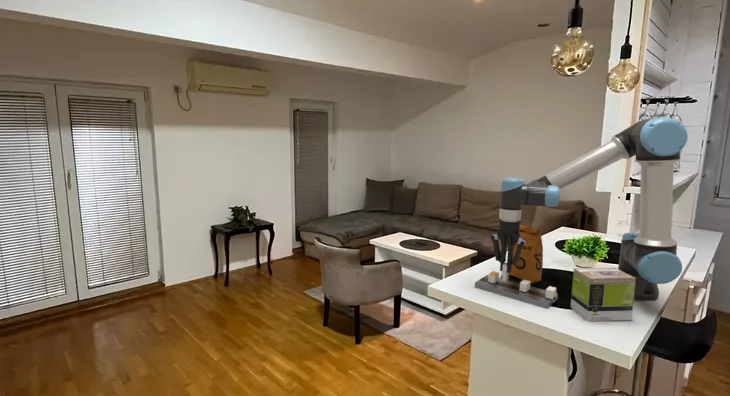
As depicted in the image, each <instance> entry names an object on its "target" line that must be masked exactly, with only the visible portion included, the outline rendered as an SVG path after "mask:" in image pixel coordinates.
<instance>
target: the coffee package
mask: <svg viewBox="0 0 730 396" xmlns="http://www.w3.org/2000/svg"><path fill="white" fill-rule="evenodd" d="M519 233H520V236H521V238H522V239H523V240H526V244H525V245H524V246H523V248H522V251H521V254H520V256H519V259H518V262H517V263H516V264H514V265H512V269H511V272H510V273H509V275H508V276H513V277H515V278H518V279H520V280H521V281H523V280H527V281H531V282H530V284H534V283H537V282H540V281H542V274H543V263H544V259H543V258H544V257H543V256H544V247H543V240H542V234H541V229H540V228H537V227H531V226H527V225H523V224H520V232H519ZM518 242H519V241H517V242H516V243H515V244H514V250H513V258H514V255H515V252H516V249H517V247H518V245H519V244H518Z"/></svg>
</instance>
